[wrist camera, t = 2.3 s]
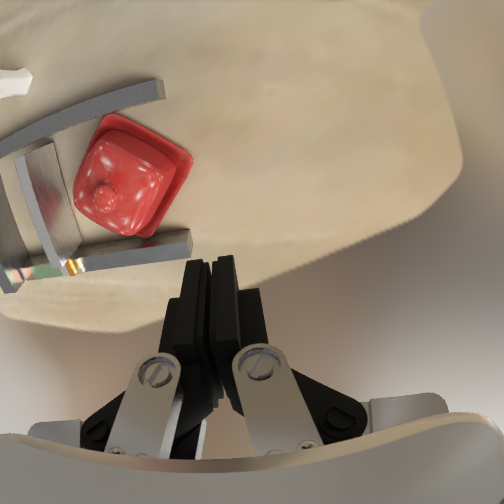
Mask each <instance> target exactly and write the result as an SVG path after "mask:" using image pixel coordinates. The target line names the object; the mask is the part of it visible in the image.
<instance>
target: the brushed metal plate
mask: <svg viewBox="0 0 504 504" xmlns="http://www.w3.org/2000/svg"><path fill="white" fill-rule="evenodd" d="M14 162H15V166H16V169H17V173H18V177H19V180H20V184H21V187H22V191H23V194H24V197H25V200H26V203H27V206H28V209H29V212H30V215H31V218H32V220H33V223H34V226H35V228H36V231H37V233H38V236H39V238H40V241H41V243H42V246H43V248H44V250H45V253H46V255H47V257H48V260H49V262H50V264H51V266H52V268H59V267H63V266H64V264H65V266H66V268H67V270H68V273H69V275H70V276H75V275H76V273H77V272H76V270H75V267H74V265H73V263H72V261H71V258H70V256H71V255H72V254H73V252H74V251H75V250H76V248H77V247H78V246H79V245H80V243H81V242H82V241H83V240H82V238H81V235H80V232H79V229H78V227H77V224H76V221H75V218H74V215H73V212H72V209H71V206H70V203H69V200H68V196H67V193H66V190H65V186H64V183H63V179H62V176H61V172H60V168H59V164H58V160H57V156H56V152H55V148H54V143H51V144H48V145H46V146H43V147H41V148H38V149H36V150H34V151H31V152H29V153H27V154H25V155H23V156H20V157H18V158H16V159H14Z"/></svg>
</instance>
